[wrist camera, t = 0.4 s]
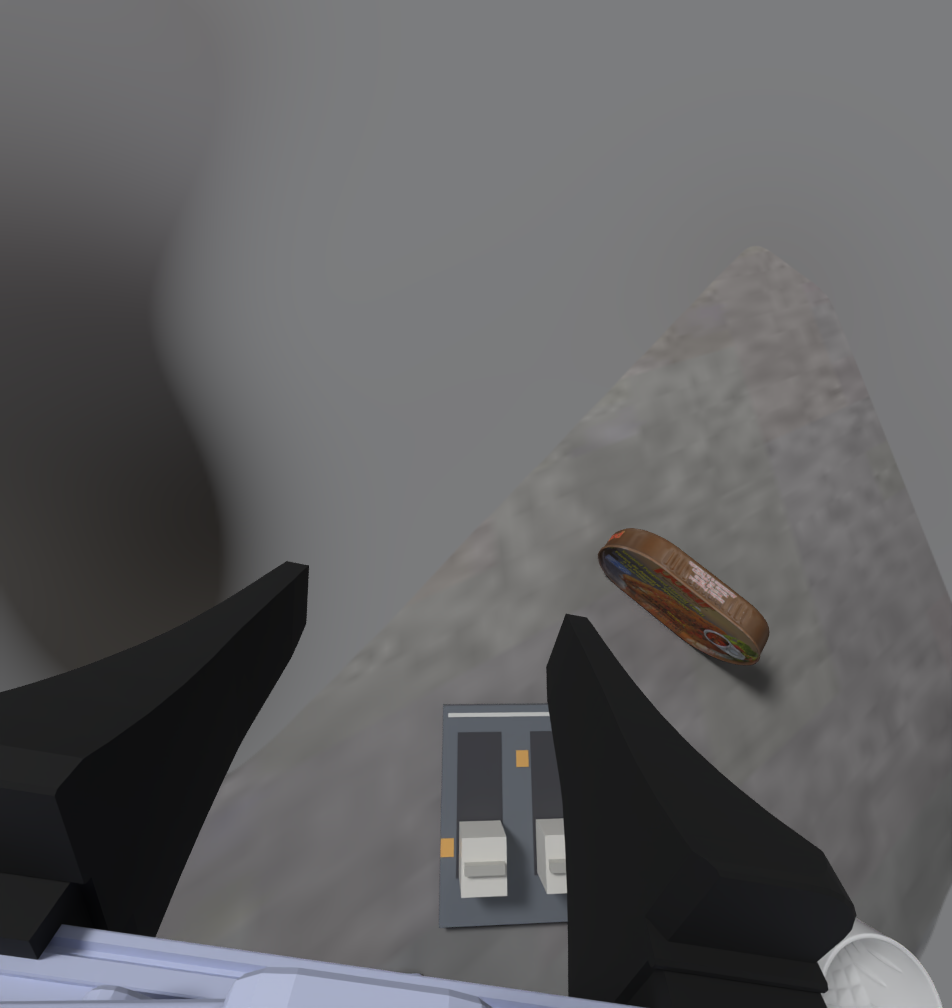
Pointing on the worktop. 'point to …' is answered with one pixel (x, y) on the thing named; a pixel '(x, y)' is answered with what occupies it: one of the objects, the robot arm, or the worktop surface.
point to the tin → (684, 596)
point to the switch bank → (498, 807)
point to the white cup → (875, 973)
